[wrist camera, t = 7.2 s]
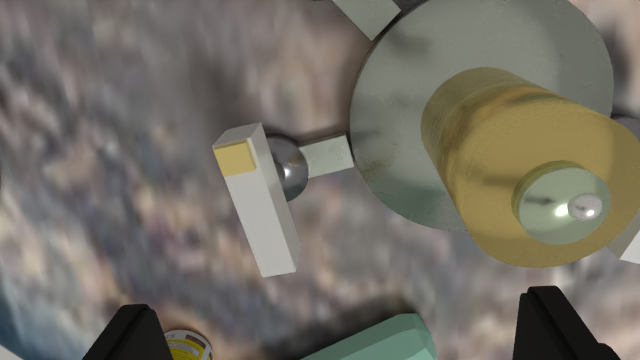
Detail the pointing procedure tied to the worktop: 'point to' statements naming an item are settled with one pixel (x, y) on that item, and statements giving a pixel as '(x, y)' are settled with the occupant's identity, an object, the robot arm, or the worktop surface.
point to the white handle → (628, 242)
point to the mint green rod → (384, 342)
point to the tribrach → (486, 127)
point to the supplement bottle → (188, 345)
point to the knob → (259, 197)
